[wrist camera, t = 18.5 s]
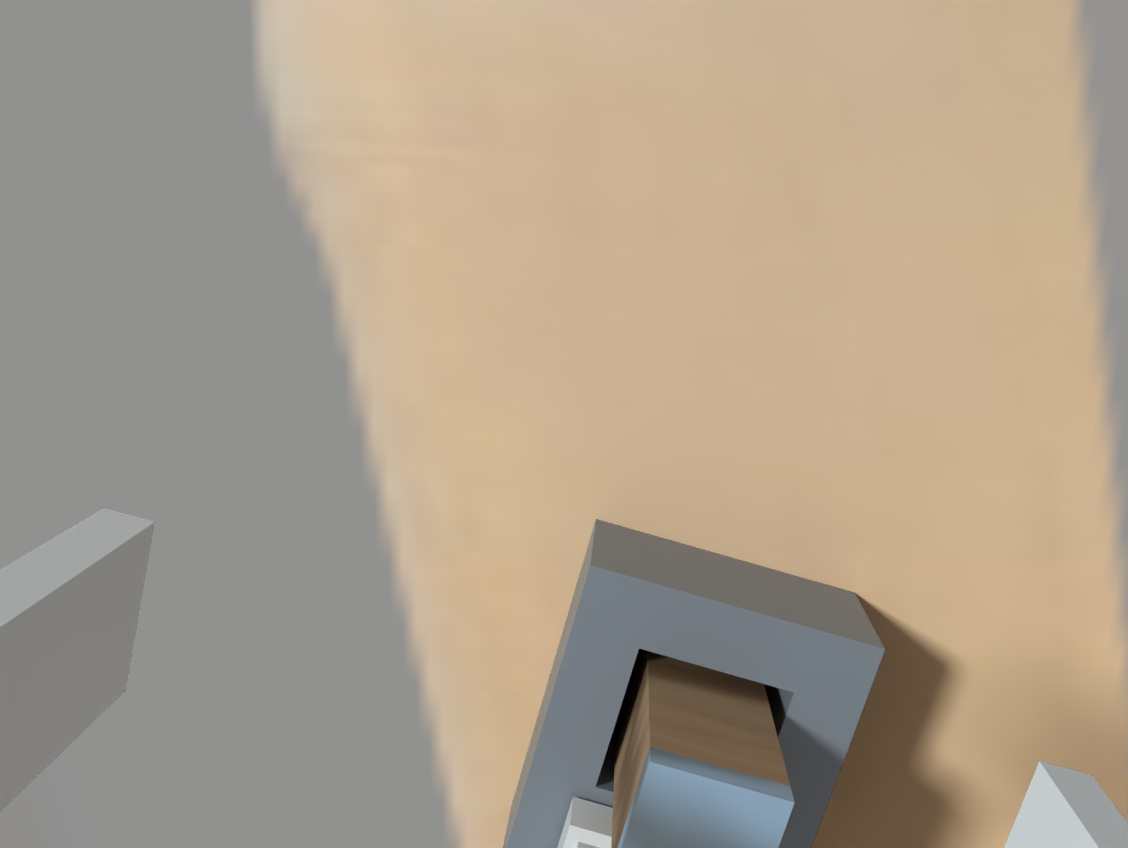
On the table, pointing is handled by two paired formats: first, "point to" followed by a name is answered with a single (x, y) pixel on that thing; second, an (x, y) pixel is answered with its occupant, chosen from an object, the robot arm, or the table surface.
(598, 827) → the lid
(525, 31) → the table surface
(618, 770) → the plug
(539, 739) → the socket block
